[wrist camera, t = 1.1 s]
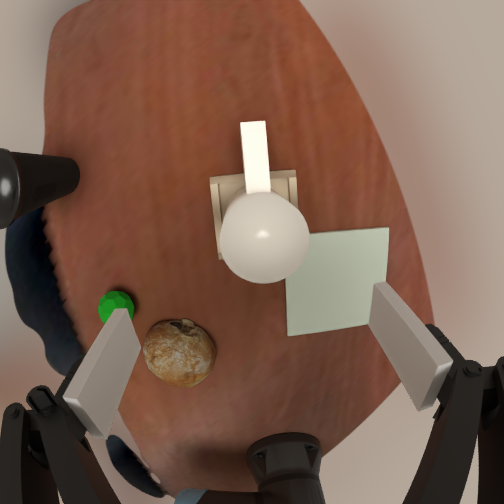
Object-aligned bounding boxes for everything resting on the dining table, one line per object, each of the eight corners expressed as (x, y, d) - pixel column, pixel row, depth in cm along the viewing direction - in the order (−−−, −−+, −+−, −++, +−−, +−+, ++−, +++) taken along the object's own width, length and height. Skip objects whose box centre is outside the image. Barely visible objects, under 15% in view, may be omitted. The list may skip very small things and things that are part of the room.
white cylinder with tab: (286, 239, 34) (310, 278, 23) (229, 244, 34) (225, 287, 23) (279, 130, 30) (301, 114, 19) (218, 135, 30) (206, 120, 19)
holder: (297, 247, 35) (300, 251, 34) (219, 254, 35) (218, 259, 33) (292, 169, 32) (295, 170, 31) (210, 176, 32) (209, 177, 31)
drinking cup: (79, 136, 29) (-40, 133, 10) (96, 190, 32) (-20, 228, 13) (39, 163, 30) (-74, 181, 11) (55, 213, 32) (-54, 261, 13)
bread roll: (217, 317, 42) (213, 323, 34) (217, 383, 40) (213, 402, 32) (152, 314, 41) (134, 319, 33) (154, 378, 40) (138, 395, 32)
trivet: (379, 319, 39) (380, 321, 39) (287, 333, 39) (287, 336, 38) (386, 226, 35) (389, 227, 34) (282, 235, 35) (283, 236, 34)
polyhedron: (136, 321, 37) (125, 340, 33) (105, 310, 37) (91, 327, 32) (141, 291, 36) (130, 308, 32) (108, 279, 35) (94, 294, 31)
